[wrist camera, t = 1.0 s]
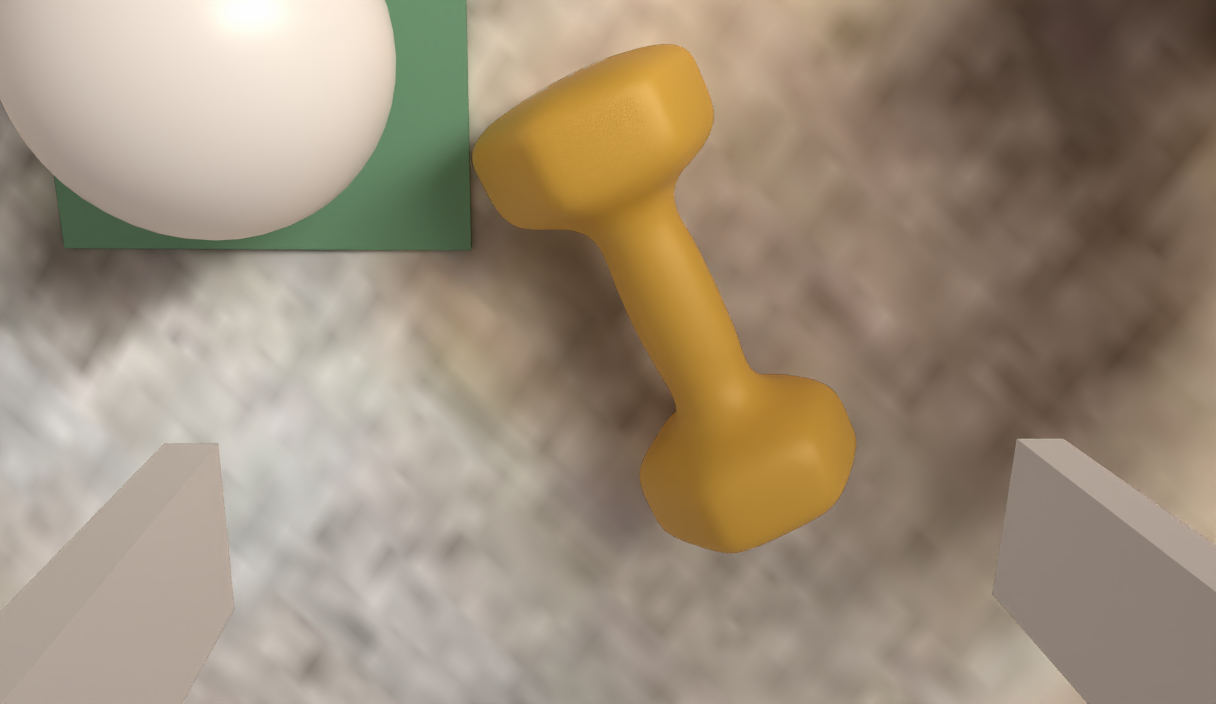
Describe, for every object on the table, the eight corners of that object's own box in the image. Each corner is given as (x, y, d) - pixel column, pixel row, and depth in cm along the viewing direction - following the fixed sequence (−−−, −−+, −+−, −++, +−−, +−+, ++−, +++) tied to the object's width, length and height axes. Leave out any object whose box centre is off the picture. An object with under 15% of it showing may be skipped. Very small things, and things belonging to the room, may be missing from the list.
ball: (408, -112, 35) (352, -198, 24) (420, 213, 39) (375, 275, 27) (69, -125, 34) (-162, -221, 23) (112, 210, 38) (-70, 274, 26)
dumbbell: (462, 124, 38) (446, 139, 30) (667, 24, 38) (703, 13, 30) (655, 507, 44) (683, 603, 36) (835, 424, 43) (903, 502, 35)
